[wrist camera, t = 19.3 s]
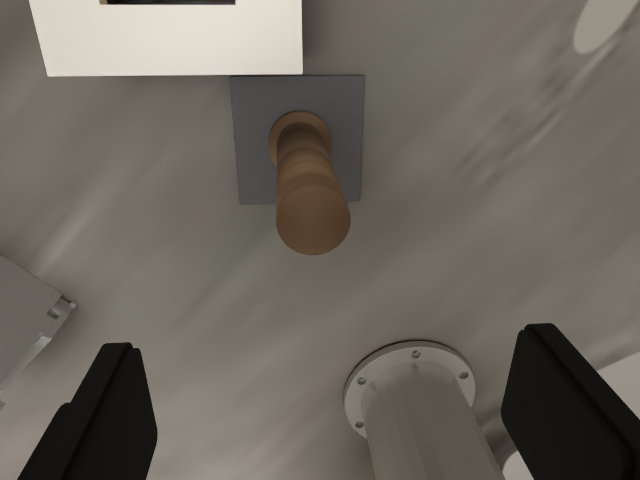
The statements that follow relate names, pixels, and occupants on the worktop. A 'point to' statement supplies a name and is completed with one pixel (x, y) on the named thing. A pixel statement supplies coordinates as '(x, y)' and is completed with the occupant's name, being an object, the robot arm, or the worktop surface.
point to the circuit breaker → (25, 319)
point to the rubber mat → (289, 95)
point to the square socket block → (169, 37)
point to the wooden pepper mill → (307, 184)
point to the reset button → (191, 0)
